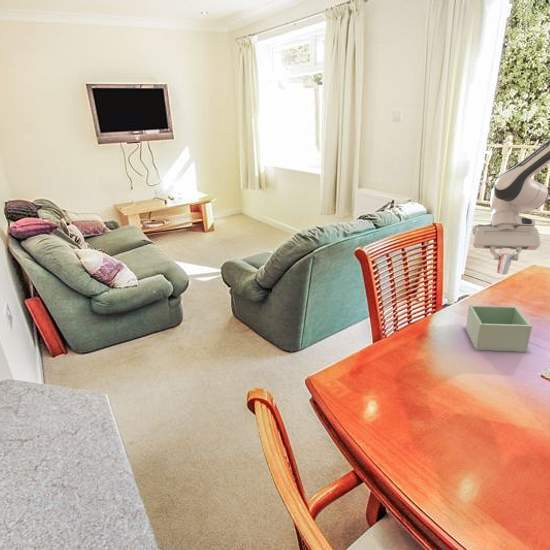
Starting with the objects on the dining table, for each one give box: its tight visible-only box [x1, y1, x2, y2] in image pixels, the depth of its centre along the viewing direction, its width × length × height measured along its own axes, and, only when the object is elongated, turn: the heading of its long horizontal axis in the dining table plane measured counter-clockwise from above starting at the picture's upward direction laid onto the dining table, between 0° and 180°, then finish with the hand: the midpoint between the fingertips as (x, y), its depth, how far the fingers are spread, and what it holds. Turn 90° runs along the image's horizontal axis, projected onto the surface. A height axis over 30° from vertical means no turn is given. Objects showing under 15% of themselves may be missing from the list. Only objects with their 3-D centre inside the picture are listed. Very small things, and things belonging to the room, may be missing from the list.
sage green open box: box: [465, 304, 533, 353], centre depth 114 cm, size 14×12×9 cm
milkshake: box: [496, 248, 516, 275], centre depth 130 cm, size 4×5×10 cm
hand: (505, 259), depth 130 cm, fingers closed on milkshake, 4 cm apart
